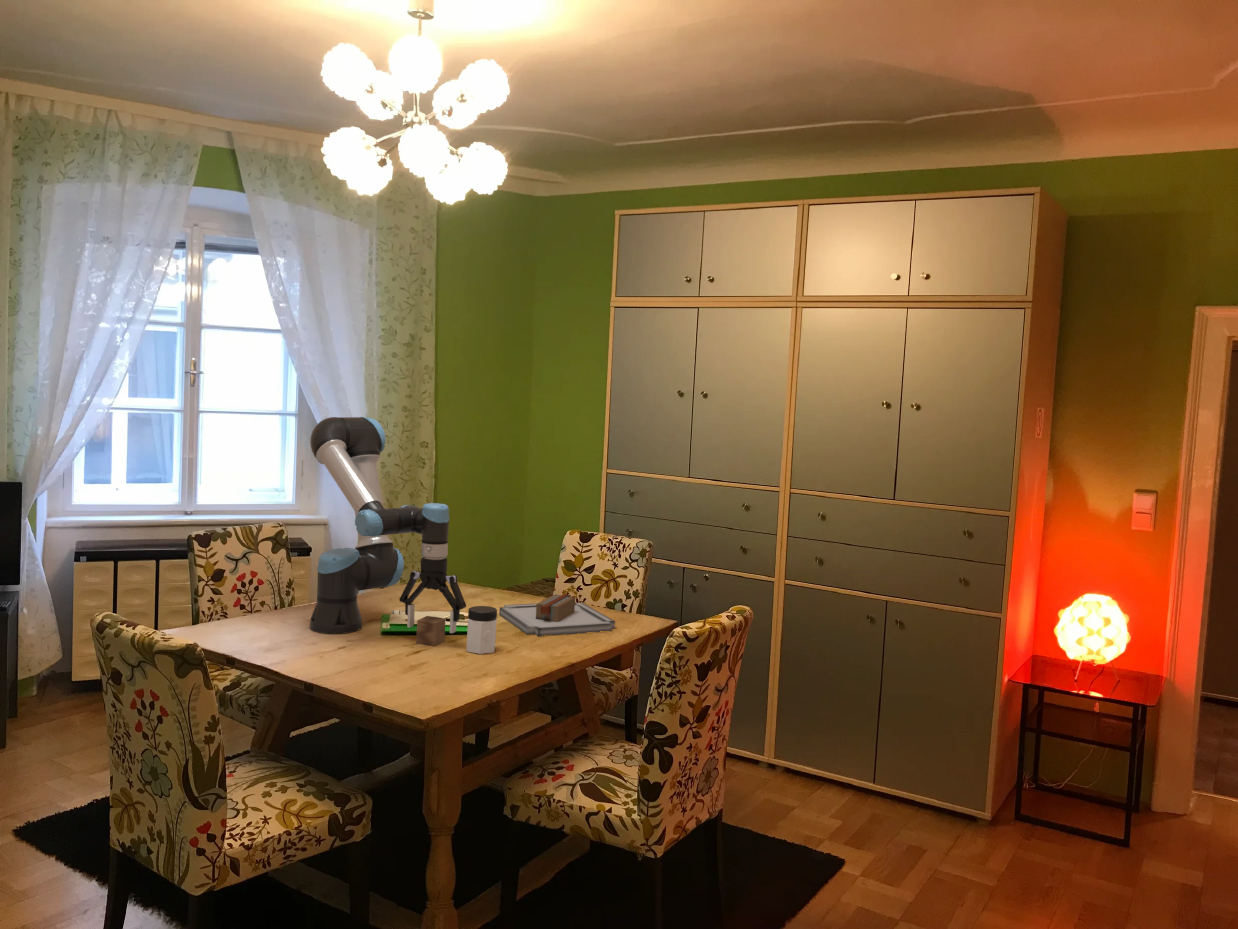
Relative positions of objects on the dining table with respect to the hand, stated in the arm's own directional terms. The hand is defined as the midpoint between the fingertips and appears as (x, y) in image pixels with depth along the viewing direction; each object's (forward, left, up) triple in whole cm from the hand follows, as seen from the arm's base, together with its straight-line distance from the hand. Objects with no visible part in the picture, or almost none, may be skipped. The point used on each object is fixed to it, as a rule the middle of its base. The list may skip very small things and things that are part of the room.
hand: (431, 629), depth 286 cm
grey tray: (+24, +41, -5) cm, 48 cm away
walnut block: (0, 0, -4) cm, 4 cm away
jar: (+16, 0, -4) cm, 16 cm away
